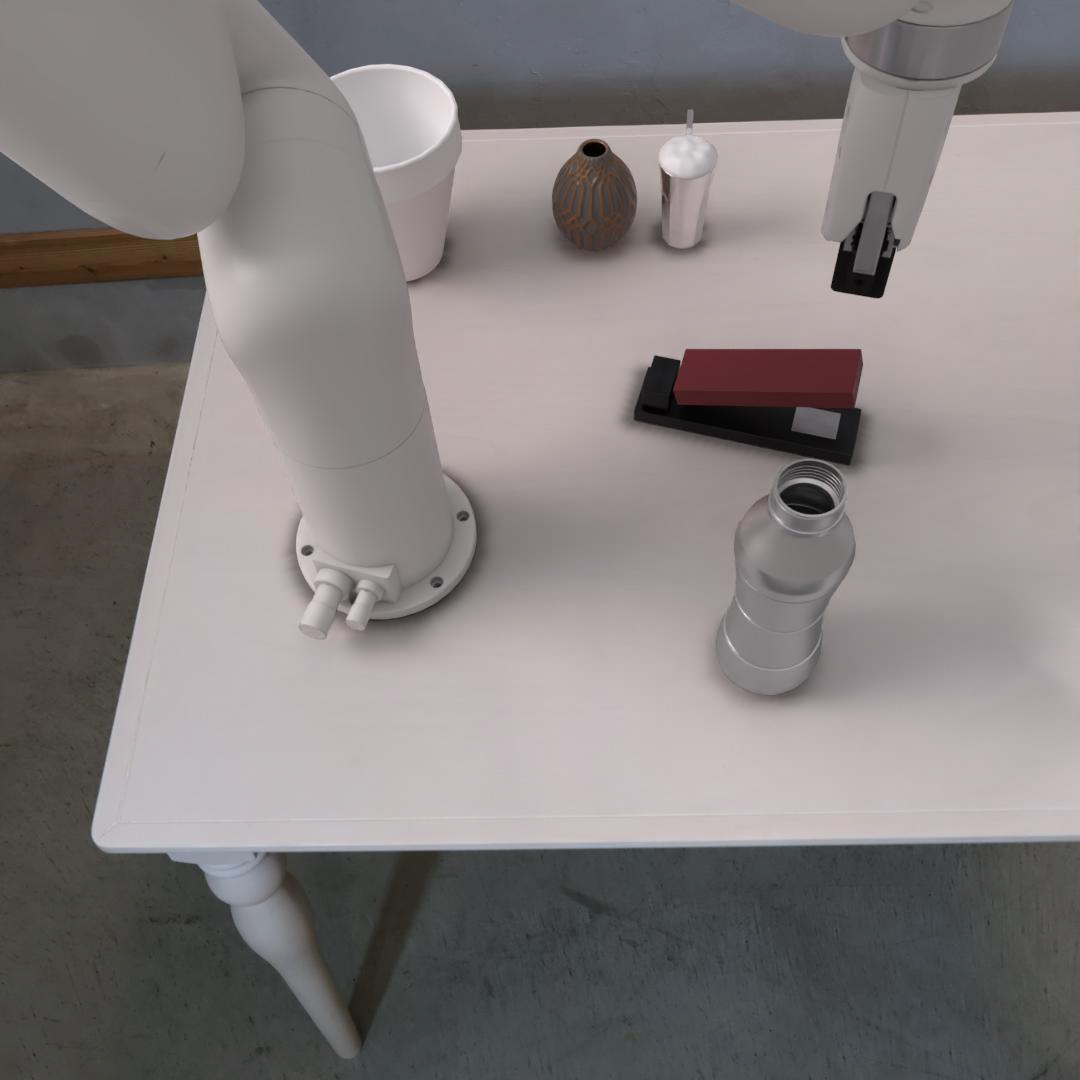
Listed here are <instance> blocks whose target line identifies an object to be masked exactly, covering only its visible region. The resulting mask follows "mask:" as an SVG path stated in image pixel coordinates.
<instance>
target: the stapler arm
mask: <svg viewBox="0 0 1080 1080" xmlns="http://www.w3.org/2000/svg"><path fill="white" fill-rule="evenodd" d="M863 359H864V358H863V351H862V348H685V350H684V353H683V356H682V360H681V363H680V369H679V373H678V376H677V379H676V382H675V386H674V389H673V391H674V394H675V397H676V401H677V404H678V405H720V406H768V407H816V408H856V404H857V399H858V395H859V389H860V384H861V379H862V373H863V369H864V368H863V367H864V360H863Z"/></svg>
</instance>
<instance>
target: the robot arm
mask: <svg viewBox="0 0 1080 1080" xmlns="http://www.w3.org/2000/svg"><path fill="white" fill-rule="evenodd" d="M727 1H728V2H730V3H733V5H736V6H739V7H741V8H743V9H745V10H747V11H749V12H752V13H753V14H756V15H758V16H760V17H762V18H764V19H766V20H768V21H770V22H772V23H776V24H777V25H780V26H782V27H784V28H786V29H790V30H791V31H795V32H798V33H802V34H805V35H810V36H817V37H823V38H840V41H841V47H842V50H843V52H844V55H845V56H846V58H847V59H848V60H849V62H850V63H851V64H852V65H853V66H854V68H853V72H852V73H853V74H852V77H851V81H850V85H849V90H848V94H847V97H846V104H845V108H844V113H843V118H842V123H841V127H840V132H839V137H838V143H837V148H836V152H835V158H834V163H833V168H832V172H831V178H830V183H829V187H828V193H827V198H826V202H825V207H824V213H823V217H822V222H821V226H820V227H821V228H820V233H821V235H822V237H823V238H824V239H825V241H826V242H827V241H828V242H830V241H831V242H836V243H839V246H838V252H837V255H836V261H835V264H834V269H833V274H832V279H831V282H830V289H831V291H833V292H836V293H841V294H847V295H853V296H859V297H866V298H871V299H881V298H883V297H884V294H885V291H886V287H887V283H888V280H889V277H890V273H891V269H892V265H893V262H894V258H895V256H896V252H897V253H898V252H901V251H903V250H905V249H906V248H907V247H909V246H910V244H911V242H912V239H913V236H914V234H915V231H916V229H917V226H918V223H919V219H920V218H921V215H922V212H923V209H924V206H925V203H926V200H927V197H928V195H929V191H930V188H931V186H932V183H933V179H934V177H935V173H936V170H937V168H938V165H939V161H940V159H941V155H942V152H943V149H944V145H945V142H946V139H947V137H948V134H949V133H948V132H949V129H950V126H951V123H952V121H953V120H952V119H953V117H954V114H955V110H956V106H957V104H958V100H959V97H960V93H961V89H962V86H963V85H965V84H968V83H970V82H972V81H975V80H976V79H978V78H979V77H981V76H982V75H983V74H985V73H986V72H987V71H988V70H989V69H990V68H991V67H992V66H993V64H994V62H995V61H996V60H997V59H996V58H997V56H998V53H999V50H1000V47H1001V43H1002V41H1003V39H1004V34H1005V31H1006V28H1007V25H1008V22H1009V19H1010V15H1011V12H1012V9H1013V6H1014V3H1015V0H727ZM0 153H1V154H3V155H4V156H5V157H7V158H8V159H10V160H11V161H13V162H14V163H15V164H16V165H18V166H19V167H21V168H22V169H24V171H26V172H28V173H29V174H30V175H32V176H33V177H34V178H36V179H38V180H39V181H40V182H41V183H43V184H44V185H46V186H47V187H49V188H50V189H51V190H53V192H55V193H57V194H58V195H60V197H62V198H64V199H65V200H66V201H68V202H69V203H71V204H72V205H74V206H75V207H77V208H78V209H79V210H81V211H82V212H83V213H85V214H87V215H89V216H90V217H92V218H94V219H96V220H98V221H100V222H102V223H103V224H105V225H107V226H109V227H111V228H113V229H115V230H118V231H120V232H122V233H126V234H128V235H131V236H133V237H139V238H142V239H147V240H148V239H149V240H155V241H156V240H157V241H158V240H159V241H171V240H177V239H183V238H186V237H190V236H194V235H197V241H198V248H199V254H200V260H201V266H202V267H201V268H202V273H203V278H204V283H205V289H206V293H207V298H208V299H207V300H208V303H209V307H210V311H211V314H212V318H213V321H214V325H215V328H216V331H217V334H218V336H219V339H220V342H221V343H222V346H223V348H224V350H225V352H226V353H227V355H228V357H229V358H230V360H231V362H232V364H233V365H234V366H235V368H236V370H237V371H238V372H239V375H240V376H241V378H242V379H243V381H244V382H245V385H246V386H247V388H248V390H249V393H250V394H251V397H252V399H253V401H254V403H255V405H256V408H257V411H258V413H259V415H260V417H261V420H262V422H263V424H264V427H265V429H266V432H267V434H268V436H269V438H270V439H271V442H272V444H273V447H274V449H275V452H276V454H277V456H278V458H279V461H280V463H281V466H282V468H283V471H284V473H285V475H286V478H287V480H288V483H289V485H290V487H291V490H292V492H293V495H294V497H295V499H296V502H297V504H298V506H299V507H298V508H299V509H300V511H301V514H302V516H301V518H300V521H299V522H298V523H299V524H298V527H297V531H296V538H295V552H296V557H297V562H298V565H299V568H300V570H301V574H302V575H303V578H304V580H305V581H306V583H307V584H308V586H309V588H310V589H311V591H312V592H313V593H314V595H313V597H312V599H311V601H309V603H308V604H307V607H306V609H305V611H304V613H303V616H302V618H301V620H300V623H299V625H298V629H299V631H301V633H302V634H304V635H305V636H307V637H310V638H312V639H315V640H325V639H327V636H328V635H329V632H330V630H331V628H332V625H333V624H334V621H335V618H336V617H337V611H339V612H341V613H344V614H345V615H347V616H346V618H345V621H344V624H346V626H347V627H348V628H350V629H352V630H354V631H359V632H362V631H365V630H366V627H367V625H368V623H369V620H390V619H397V618H404V617H407V616H409V615H412V614H416V613H419V612H421V611H423V610H425V609H427V608H429V607H431V606H433V605H435V604H437V603H438V602H439V601H441V600H442V599H443V598H444V597H446V596H447V595H449V594H450V593H451V592H452V591H453V590H454V589H455V588H456V587H457V586H458V584H459V583H460V582H461V581H462V580H463V578H464V577H465V575H466V573H467V571H468V570H469V569H470V567H471V565H472V564H471V563H472V561H473V558H474V557H475V554H476V547H477V540H478V536H477V535H478V534H477V533H478V532H477V522H476V517H475V512H474V510H473V507H472V505H471V503H470V500H469V498H468V496H467V495H466V494H465V492H464V491H463V489H462V488H461V486H460V485H459V484H457V483H456V482H455V480H452V478H451V477H449V476H448V475H447V474H445V473H444V472H443V466H442V462H441V457H440V452H439V448H438V443H437V439H436V434H435V430H434V429H435V428H434V424H433V420H432V414H431V410H430V409H431V408H430V405H429V400H428V395H427V392H426V388H425V384H424V379H423V374H422V369H421V365H420V360H419V356H418V350H417V345H416V339H415V332H414V324H413V313H412V305H411V298H410V293H409V287H408V283H407V282H408V281H407V282H406V278H405V274H404V270H403V266H402V262H401V258H400V255H399V251H398V248H397V244H396V241H395V238H394V234H393V231H392V227H391V224H390V221H389V218H388V214H387V211H386V208H385V204H384V201H383V197H382V194H381V191H380V188H379V185H378V184H377V181H376V177H375V174H374V170H373V167H372V163H371V160H370V157H369V153H368V150H367V146H366V144H365V140H364V137H363V134H362V131H361V129H360V126H359V123H358V121H357V118H356V116H355V114H354V112H353V110H352V108H351V106H350V105H349V103H348V101H347V100H346V98H345V97H344V96H343V94H342V93H341V92H340V90H339V89H338V88H337V86H336V85H335V84H334V83H333V81H332V80H331V79H330V76H329V75H328V74H327V73H326V72H325V71H324V70H323V69H322V67H321V66H320V65H319V64H318V63H317V62H316V61H315V59H313V57H311V56H310V55H309V54H308V52H306V50H305V49H304V48H303V47H302V46H301V45H300V44H299V43H298V42H297V41H296V40H295V38H293V36H291V34H290V33H289V32H288V31H287V30H286V29H285V28H284V27H283V26H282V25H281V24H280V23H279V21H277V19H276V18H275V17H273V15H272V14H271V13H270V12H269V11H268V10H267V9H266V8H265V7H264V6H263V5H262V4H261V3H260V1H259V0H0Z"/></svg>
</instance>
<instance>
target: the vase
mask: <svg viewBox="0 0 1080 1080" xmlns="http://www.w3.org/2000/svg"><path fill="white" fill-rule="evenodd" d="M551 207H552V214H553V219H554V221H555V224H556V226H557V228H558V231H559V233H561V234H562V236H563V238H565V239H566V240H567V241H568V242H569V243H570V244H572V245H573V246H575V247H577V248H579V249H582V250H585V251H591V252H596V251H597V252H598V251H603V250H606V249H608V248H609V249H610V248H611V247H613V246H616V244H618V243H619V242H620V241H622V240H623V239H624V238H625V237H626V236H627V234H628V233H629V231H630V229H631V227H632V226H633V224H634V223H633V222H634V221H635V217H636V214H637V207H638V192H637V186H636V182H635V179H634V176H633V174H632V171H631V170H630V168H629V167H628V165H627V164H626V163H625V161H624V160H623V159H621V158H620V157H619V156H618V155H617V154H615V153H614V152H613V150H612V149H611V146H610V145H609V144H608V142H606V141H605V140H603V139H600V138H590V139H586V140H584V141H583V142H581V144H580V145H579V146H578V148H577V151H576V152H575V153H574V154H572V156H570V157H569V158H568V159H567V160H566V161H565V162H564V163H563V164H562V166H561V167H560V169H559V171H558V173H557V175H556V178H555V180H554V183H553V186H552V192H551Z"/></svg>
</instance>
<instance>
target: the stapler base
mask: <svg viewBox="0 0 1080 1080" xmlns="http://www.w3.org/2000/svg"><path fill="white" fill-rule="evenodd" d="M681 363H682V360H681V359H676V358H671V357H667V356H661V355H657V354H655V355H654V356H653V359H652V361H651V364H650V366H648V367H647V368H646V369H647V370H646V373H645V375H644V378H643V381H642V385H641V388H640V391H639V394H638V396H637V400H636V404H635V405H634V410H633V421H636V422H640V423H645V424H650V425H655V426H659V427H665V428H669V429H673V430H678V431H683V432H688V433H692V434H697V435H702V436H707V437H711V438H715V439H721V440H726V441H729V442H730V441H731V442H735V443H740V444H745V445H750V446H754V447H760V448H764V449H769V450H773V451H779V452H784V453H789V454H794V455H798V456H803V457H808V458H811V459H818V460H822V461H825V462H831V463H836V464H842V465H847V466H850V465H851V463H852V459H853V456H854V452H855V447H856V442H857V436H858V431H859V430H858V429H859V426H860V422H861V421H860V420H861V416H862V410H863V409H862V408H858V407H855V408H816V407H768V406H720V405H678V404H677V401H676V397H675V394H674V391H673V389H674V386H675V382H676V379H677V376H678V373H679V369H680V366H681Z"/></svg>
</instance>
